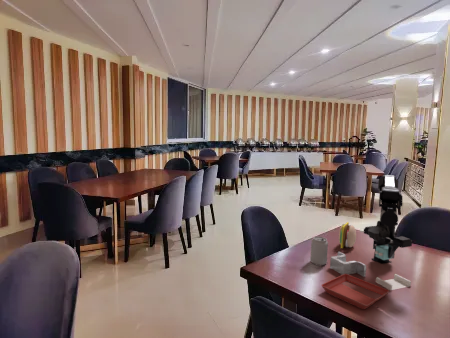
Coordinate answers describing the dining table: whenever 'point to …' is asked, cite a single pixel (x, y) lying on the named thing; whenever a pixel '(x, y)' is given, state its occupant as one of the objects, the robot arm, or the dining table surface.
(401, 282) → the white flat channel piece
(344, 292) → the plant saucer
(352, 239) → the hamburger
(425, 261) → the dining table surface
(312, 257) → the can
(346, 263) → the bracket
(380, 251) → the plug
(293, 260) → the dining table surface
